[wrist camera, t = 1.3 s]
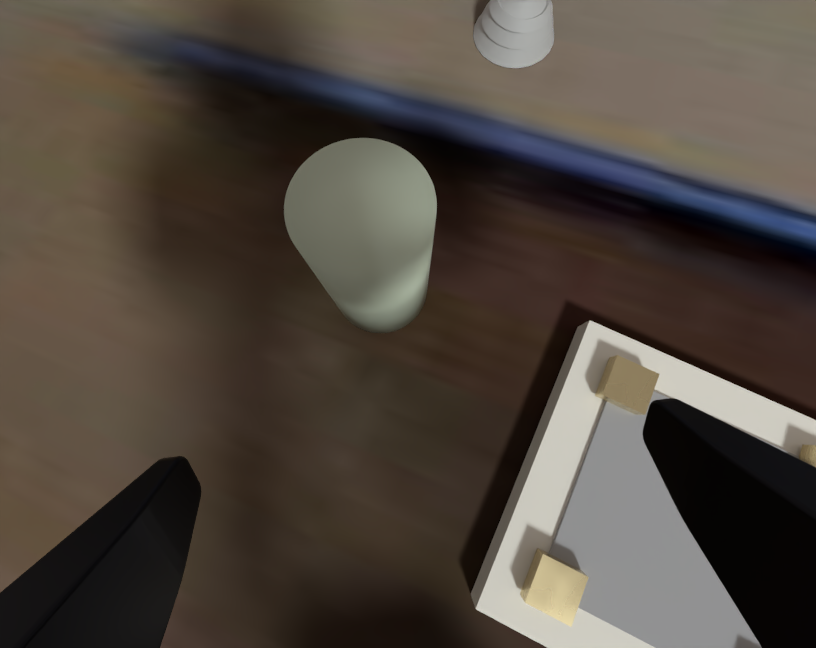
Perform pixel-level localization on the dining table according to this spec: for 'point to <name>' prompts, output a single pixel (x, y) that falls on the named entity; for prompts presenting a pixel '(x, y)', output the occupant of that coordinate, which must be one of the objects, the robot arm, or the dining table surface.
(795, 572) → the robot arm
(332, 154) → the sage green capsule
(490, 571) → the display tile
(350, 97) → the dining table surface
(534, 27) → the chalice
